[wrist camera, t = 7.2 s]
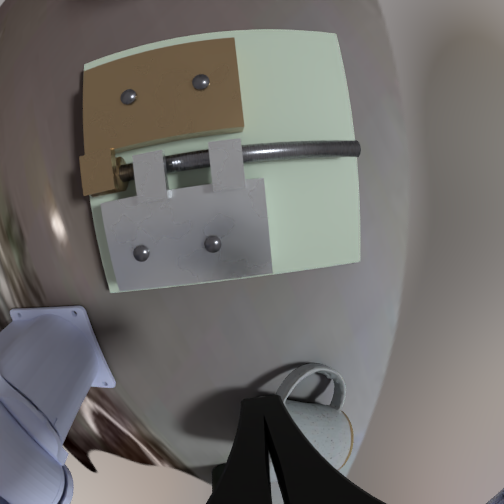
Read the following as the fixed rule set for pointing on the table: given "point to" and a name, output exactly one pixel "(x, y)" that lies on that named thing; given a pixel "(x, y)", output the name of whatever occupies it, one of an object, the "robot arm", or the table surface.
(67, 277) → the table surface
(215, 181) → the steel leaf
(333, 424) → the ceramic mug
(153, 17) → the table surface
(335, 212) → the board
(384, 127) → the table surface
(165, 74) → the bronze leaf
